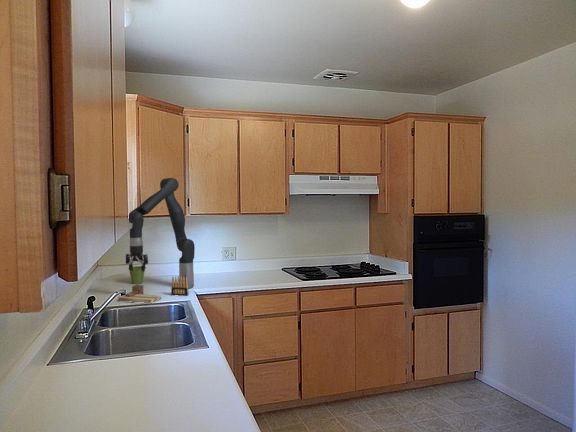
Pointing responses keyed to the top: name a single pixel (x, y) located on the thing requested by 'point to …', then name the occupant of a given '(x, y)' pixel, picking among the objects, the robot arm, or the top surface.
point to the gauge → (136, 290)
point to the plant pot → (137, 275)
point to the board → (140, 298)
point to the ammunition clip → (179, 287)
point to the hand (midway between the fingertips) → (137, 271)
